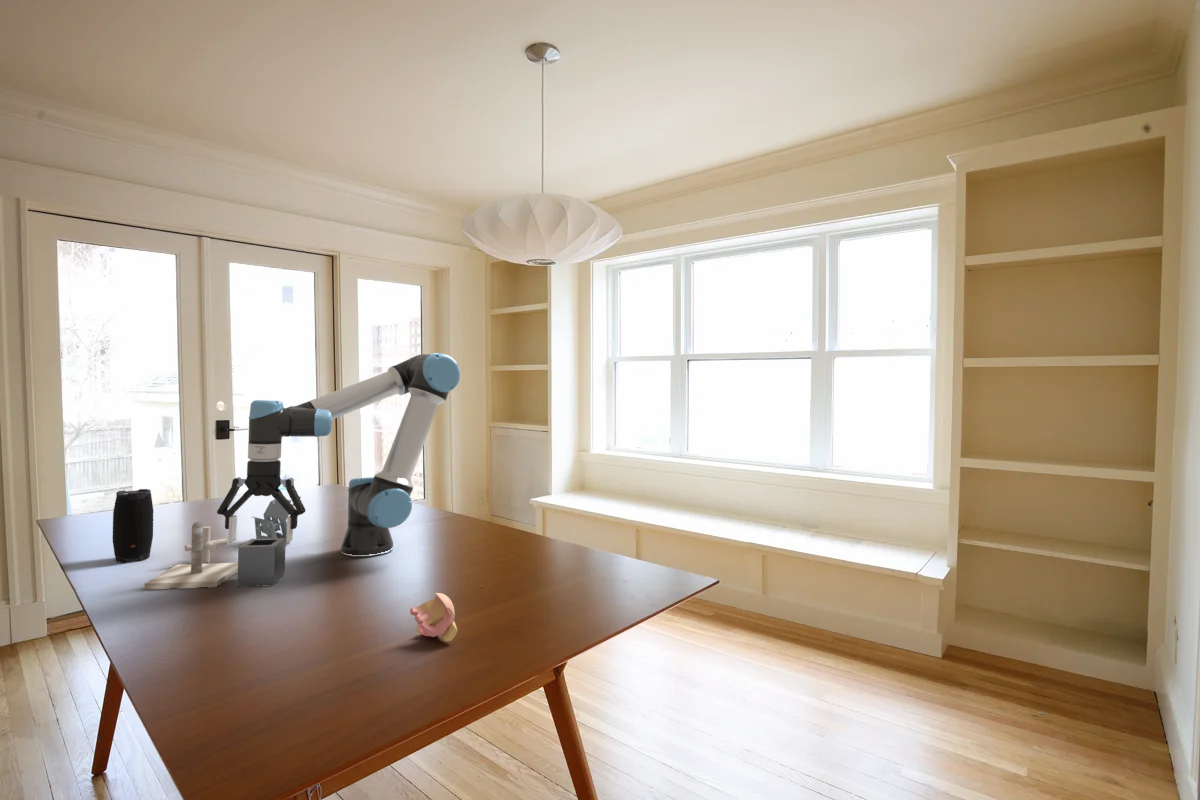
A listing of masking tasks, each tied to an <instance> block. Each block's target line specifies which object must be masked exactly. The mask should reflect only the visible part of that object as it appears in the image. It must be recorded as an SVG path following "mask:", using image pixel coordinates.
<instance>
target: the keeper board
mask: <svg viewBox="0 0 1200 800" xmlns="http://www.w3.org/2000/svg"><path fill="white" fill-rule="evenodd" d="M191 525H192V526H191V544H192V547H191V555H190V557H191V558H190V560H191V561H190V562H191V563H183V564H181V563H180V564H179V563H177V564H176V565H175V566H172V567H170V568H169V569H167V570H166V571H164V572H162V573H160V574H159V575H157V576H155V577H154V578H152V579H149V580H148V581H146V582H145V583H144V588H143V589H148V590H167V589H168V590H170V588H178V589H199V587H208V588H218V587H219V586H220V585H222V584H223V583H225V582H226V581H227V580H228V579H230V578H231V577H232V575H233V574H234V573H235V574H237V573H238V572H237V571H238V562H224V563H223V562H222V563H221V562H220V563H215V562H214V563H202V553H203V527H204V525H203V523H202V522H200V521H195V522H193V524H191ZM236 572H237V573H236ZM235 574H234V575H235ZM234 575H233V576H234ZM230 576H231V577H230ZM229 577H230V578H229ZM225 580H226V581H225ZM222 582H223V583H222ZM221 583H222V584H221ZM218 585H219V586H218ZM217 586H218V587H217ZM197 587H198V588H197Z"/></svg>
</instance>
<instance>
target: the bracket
mask: <svg viewBox="0 0 1200 800" xmlns="http://www.w3.org/2000/svg"><path fill="white" fill-rule="evenodd" d="M301 497H302V496H299V498H300V499H302V498H301ZM287 500H288V501H289V502H290V503H291V502H292V500H291V499H287ZM291 504H292V506H293V507H294V508H295V506H294V504H293V503H291ZM289 516H290V515H289V514H288V512H287V511H286V510H285V509H284V508H283V507H282V506H281V504H280V503H279V502H278V501H277V500H276V499H275V498H274V499H272V500H271V501H270V502H269V504H268V506H267V508H266V509H265V511H264V513H263V518H260V517H255V516H252V518H253V519H254V526H255V527H254V530H255V539H272V538H286V533H287V517H289ZM278 531H281V532H278ZM262 534H265V535H262ZM289 544H291V542H289V543H285V546H287V545H289Z"/></svg>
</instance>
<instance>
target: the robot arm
mask: <svg viewBox="0 0 1200 800" xmlns="http://www.w3.org/2000/svg"><path fill="white" fill-rule="evenodd" d="M460 379H461V369H460V367H459V364H458V362H457V361H456V360H455V358H453V357H452V356H450V355H448V354H445V353H439V352H433V353H427V354H426V353H425V354H418V355H417V354H416V355H415V356H412V357H410V358H408V359H406V360H404V361H402V362H400V363H397V364H395V365H392V366H390V367H388V369H387V370H386V372H382V373H381V374H378V375H375V376H372V377H370V378H367V379H365V380H364V379H363V380H361V381H359V382H356V383H354V384H350V385H348V386H345V387H343V388H340V389H337V390H334V391H332V392H330V393H327V394H324V395H321V396H319V397H316V398H313V399H310V400H308V401H305V402H303V403H300V404H298V405H291V406H288V407H285V406H284V403H283V401H282V400H269V399H268V400H265V399H263V400H258V399H257V400H253V401H252V402H251V403H250V408H249V417H248V441H247V442H248V444H247V445H248V446H247V459H249V460H248V461H247V462H246V463H247V464H246V465H247V467H246V478H242V477H240V476H239V477H235V478H232V482H231V487H230V489H229V490H228V492H227V494H226V495H225V498H224V499H223V501H222V502H221V504H220V506H219V507H218V509H217V511H216V514H217V515H221V516H223V517H224V518H225V519H224V528H225V530H228V539H227V544H231V543H234V542H236V541H237V524H238V523H237V521H238V520H237V519H238V518H237V517H238V515H236V514H235V513H236V512H238V510H239V509H240V508H241V507H242V506H243V505H244V504H245V503H246V502H247V501H248V500H249V499H250V498H251V497H252V496H254V497H260V496H264V497H269V496H272V497H273V498H274V499H276V500H277V501H278V502H279V503H280V504H281V506H282V507H283V508H284V509H285V510H286V511H287V512H288V514H289V516H288V517H287V519H286V522H287V533H286V543H289V542H290V543H291V542H292V541H293V537H294V535H293V534H294V530H295V529H297V527H298V516H301V515H303V514H304V513H306V508H305V506H304V504H303V501H302V500H301V498H299V497H300V496H299V493H298V492H297V490H296V488H295V484H294V479H293V478H292V477H289V478H286V479H282V478H281V460H279V459H282V458H281V457H282V442H283V441H282V439H283V437H286V438H287V437H300V438H301V437H306V438H307V437H310V438H311V437H312V438H313V437H315V438H318V437H327V436H329V435H330V433H331V432H332V428H333V420H335V419H337V418H339V417H342V416H344V415H347V414H350V413H352V412H355V411H357V410H360V409H361V408H365V407H367V406H370V405H372V404H375V403H377V402H380V401H382V400H384V399H387V398H390V397H392V396H395V395H399V396H404V395H407V394H408V393H409V394H410V398H409V400H408V403H407V405H406V408H405V410H404V413H403V415H402V419H401V421H400V423H399V427H398V429H397V431H396V433H395V437H394V440H393V442H392V444H391V447H390V450H389V453H388V455H387V458H386V459H385V462H384V465H383V468H382V470H381V471H380V472H378V473H376V474H374V475H373V477H372V476H369V477H356V478H351V479H350V480H349V483H348V489H347V491H348V492H347V494H348V498H347V499H348V502H347V505H348V507H347V529H346V531H345V534H344V537H343V538H342V539H343V540H342V542H341V545H340V553H341V552H343V553H346V554H352V555H369V554H377V553H381V552H385V551H388V550H390V549H391V548H392V547H393V548H394V541H393V538H392V534H391V530H390V529H391V528H396V527H398V526H400V525H402V524H403V523H404V522H405V521H406V520H407V519H408V518H409V517H410V514H411V513H412V509H413V501H412V499H411V496H412V495H411V494H412V492H413V489H414V484H413V482H412V477H413V474H414V471H415V469H416V466H417V465H418V464H417V463H418V461H419V459H420V455H421V453H422V450H423V447H424V445H425V442H426V440H427V436H428V434H429V432H430V429H431V426H432V423H433V421H434V418H435V416H436V414H437V413H436V412H437V410H438V407H440V406H439V405H443V403H445V402H446V400H447V398H448V395H449V392H450V391H452V390H454V389H455V388H456V387H457V386H458V384H459V382H460ZM243 485H245V486H246V488H247V490H246V491H245V492H244V493H243V495H242V496H241V497H240V498H239V499H238V500H236V502H234V504H233V505H232V506H231V503H232V502H233V500H234V498H235V497H236V495H237V493H238V492H239V490H240V488H241V487H243ZM281 485H283V487H284V488H286V489H285V490H286V492H287V494H288V496H289V498H290V500H291V502H292V503H290V502H289V501H288V500H289V499H288V498H286V497H285V495H284V494H283V492H282V491H281V489H280V488H279V487H280V486H281ZM292 504H294V507H293V506H292ZM230 506H231V507H230ZM228 508H229V509H228ZM290 543H289V544H290Z"/></svg>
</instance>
